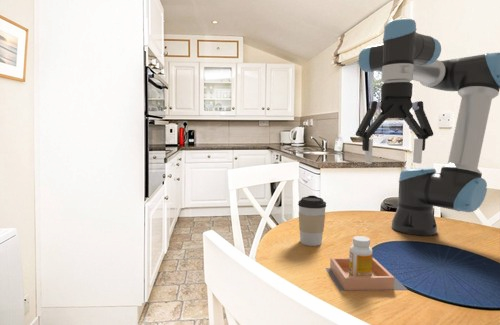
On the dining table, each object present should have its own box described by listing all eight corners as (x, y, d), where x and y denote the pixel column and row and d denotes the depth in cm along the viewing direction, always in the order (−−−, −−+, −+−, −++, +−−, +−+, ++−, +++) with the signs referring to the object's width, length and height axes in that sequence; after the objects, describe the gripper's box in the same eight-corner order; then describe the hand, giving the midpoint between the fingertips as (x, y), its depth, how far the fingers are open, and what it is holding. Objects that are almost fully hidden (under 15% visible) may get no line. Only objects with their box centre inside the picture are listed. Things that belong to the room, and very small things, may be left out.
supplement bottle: (375, 277, 80) (377, 238, 79) (364, 283, 77) (365, 243, 76) (356, 269, 84) (357, 233, 83) (344, 275, 81) (345, 238, 80)
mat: (384, 269, 87) (384, 267, 87) (407, 291, 75) (407, 289, 75) (325, 269, 86) (325, 268, 86) (339, 292, 75) (339, 290, 75)
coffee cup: (325, 248, 102) (327, 201, 101) (296, 245, 104) (297, 199, 102) (324, 238, 111) (326, 195, 109) (297, 236, 113) (299, 194, 111)
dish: (372, 268, 87) (373, 257, 87) (394, 289, 75) (394, 277, 75) (330, 268, 86) (330, 257, 86) (344, 290, 75) (345, 278, 74)
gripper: (356, 80, 81) (352, 165, 83) (452, 81, 82) (446, 164, 85) (345, 84, 88) (342, 161, 91) (433, 84, 90) (428, 161, 92)
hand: (392, 163), depth 88 cm, fingers open, 13 cm apart
